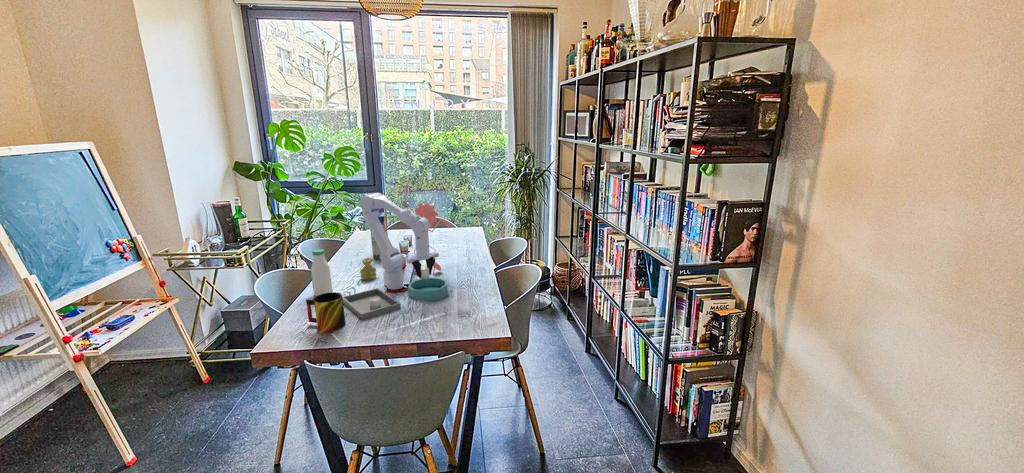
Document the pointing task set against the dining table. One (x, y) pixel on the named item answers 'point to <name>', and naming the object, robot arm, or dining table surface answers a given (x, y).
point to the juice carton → (375, 246)
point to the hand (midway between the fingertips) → (424, 275)
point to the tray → (362, 307)
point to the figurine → (431, 216)
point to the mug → (327, 312)
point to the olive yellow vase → (368, 270)
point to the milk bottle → (320, 274)
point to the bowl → (428, 289)
